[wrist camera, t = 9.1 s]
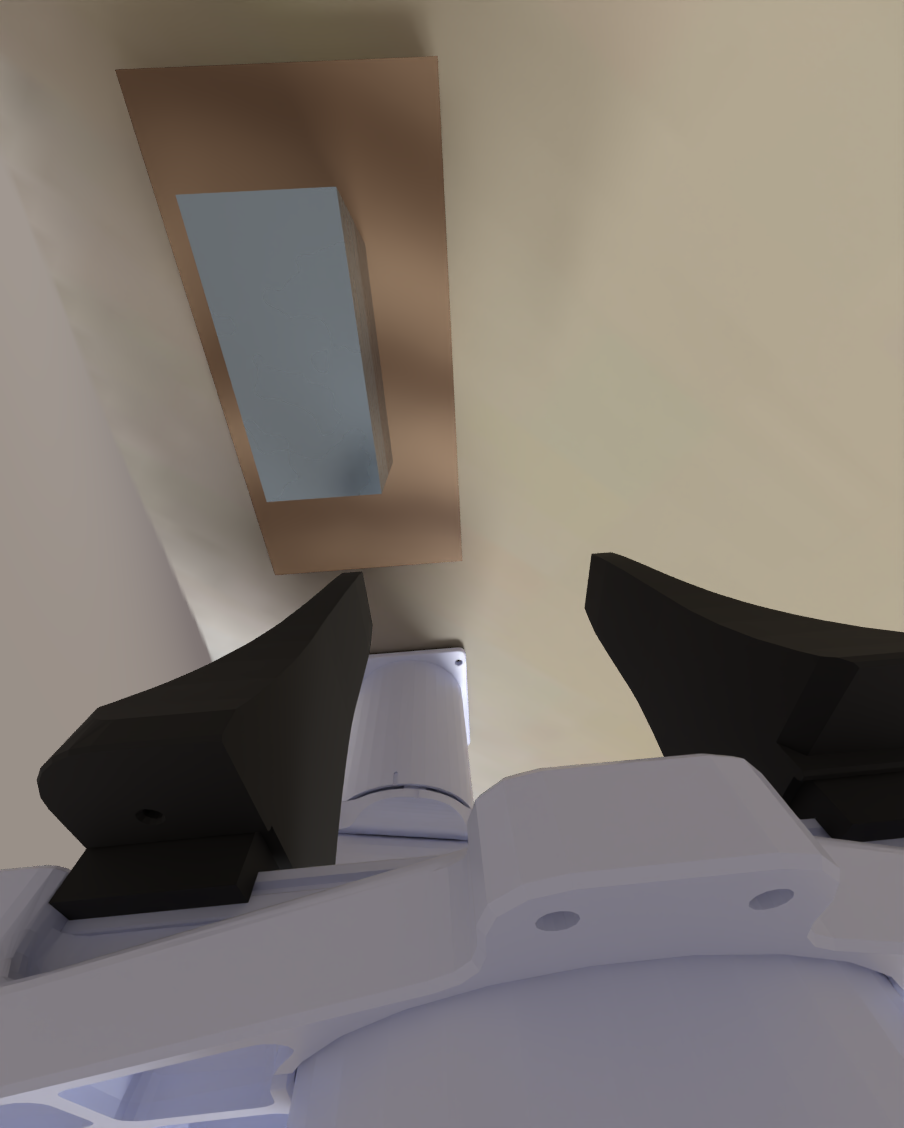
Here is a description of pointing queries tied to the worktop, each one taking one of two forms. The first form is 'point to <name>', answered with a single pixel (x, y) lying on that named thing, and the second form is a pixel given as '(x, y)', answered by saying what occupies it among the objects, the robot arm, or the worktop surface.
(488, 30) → the worktop surface
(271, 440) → the block
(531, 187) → the worktop surface
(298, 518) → the stand
